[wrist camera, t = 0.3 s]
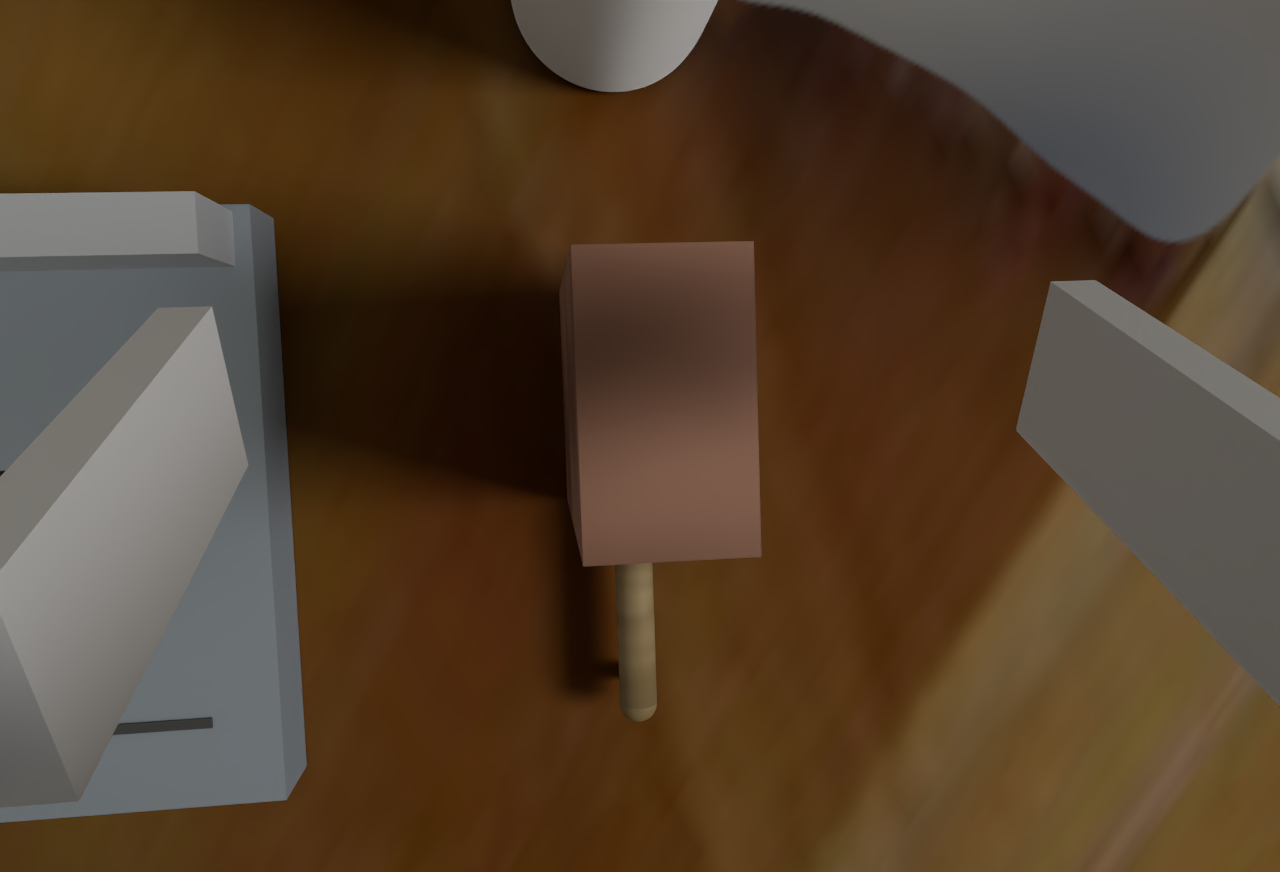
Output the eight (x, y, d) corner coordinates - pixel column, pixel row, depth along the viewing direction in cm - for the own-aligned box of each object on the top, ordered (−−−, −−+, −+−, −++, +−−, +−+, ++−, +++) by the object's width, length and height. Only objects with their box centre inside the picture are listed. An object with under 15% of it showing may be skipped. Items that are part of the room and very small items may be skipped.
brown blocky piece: (690, 696, 32) (768, 861, 21) (575, 705, 32) (595, 877, 21) (678, 287, 31) (753, 241, 20) (559, 290, 31) (571, 244, 20)
